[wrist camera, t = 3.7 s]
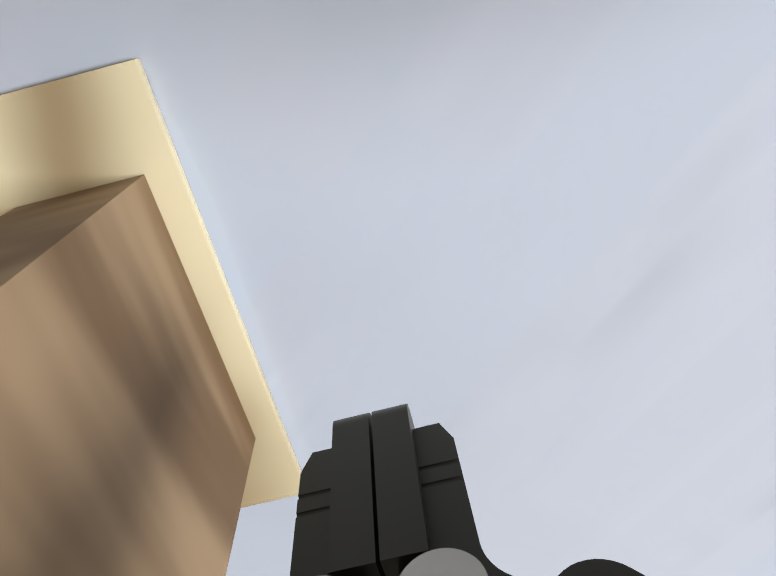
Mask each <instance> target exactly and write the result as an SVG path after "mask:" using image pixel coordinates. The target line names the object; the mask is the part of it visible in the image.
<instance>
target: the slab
mask: <svg viewBox="0 0 776 576" xmlns="http://www.w3.org/2000/svg"><path fill="white" fill-rule="evenodd" d="M255 439H256V438H255V435H254V433H253V431H252V428H251V426H250V424H249V421H248V419H247V417H246V414H245V412H244V409H243V407H242V405H241V402H240V400H239V398H238V395H237V393H236V390H235V388H234V386H233V383H232V381H231V379H230V376H229V374H228V371H227V369H226V367H225V364H224V362H223V360H222V357H221V355H220V353H219V350H218V348H217V345H216V343H215V341H214V338H213V336H212V334H211V331H210V329H209V326H208V324H207V322H206V319H205V317H204V315H203V312H202V310H201V308H200V305H199V303H198V300H197V298H196V296H195V293H194V291H193V289H192V286H191V284H190V281H189V279H188V277H187V274H186V272H185V270H184V267H183V265H182V262H181V260H180V258H179V255H178V253H177V251H176V248H175V246H174V244H173V241H172V239H171V236H170V234H169V232H168V229H167V227H166V225H165V222H164V220H163V217H162V215H161V213H160V210H159V208H158V206H157V203H156V201H155V199H154V196H153V194H152V191H151V189H150V187H149V184H148V182H147V180H146V177H145V175H144V174H143V175H140V176H136V177H132V178H128V179H124V180H120V181H116V182H112V183H109V184H105V185H101V186H97V187H93V188H89V189H85V190H81V191H77V192H74V193H70V194H66V195H62V196H58V197H54V198H50V199H46V200H43V201H39V202H35V203H31V204H27V205H23V206H19V207H15V208H14V209H12V210H10V211H9V212H7V213H5V214H3V215H2V216H0V576H225V575H226V571H227V566H228V562H229V557H230V553H231V548H232V544H233V539H234V534H235V530H236V525H237V521H238V516H239V512H240V507H241V503H242V498H243V494H244V489H245V484H246V480H247V475H248V471H249V466H250V462H251V457H252V453H253V448H254V444H255Z"/></svg>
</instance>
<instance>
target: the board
mask: <svg viewBox="0 0 776 576" xmlns="http://www.w3.org/2000/svg"><path fill="white" fill-rule="evenodd" d="M143 174H144V175H145V177H146V180H147V182H148V184H149V187H150V189H151V191H152V194H153V196H154V199H155V201H156V203H157V206H158V208H159V210H160V213H161V215H162V217H163V220H164V222H165V225H166V227H167V229H168V232H169V234H170V236H171V239H172V241H173V244H174V246H175V248H176V251H177V253H178V255H179V258H180V260H181V262H182V265H183V267H184V270H185V272H186V274H187V277H188V279H189V281H190V284H191V286H192V289H193V291H194V293H195V296H196V298H197V300H198V303H199V305H200V308H201V310H202V312H203V315H204V317H205V319H206V322H207V324H208V326H209V329H210V331H211V334H212V336H213V338H214V341H215V343H216V345H217V348H218V350H219V353H220V355H221V357H222V360H223V362H224V364H225V367H226V369H227V371H228V374H229V376H230V379H231V381H232V383H233V386H234V388H235V390H236V393H237V395H238V398H239V400H240V402H241V405H242V407H243V409H244V412H245V414H246V417H247V419H248V421H249V424H250V426H251V428H252V431H253V433H254V435H255V438H256V439H255V444H254V448H253V453H252V457H251V462H250V466H249V471H248V475H247V480H246V484H245V489H244V494H243V498H242V503H241V507H240V508H242V507H247V506H251V505H256V504H260V503H264V502H269V501H273V500H277V499H282V498H286V497H290V496H295V495H298V493H299V483H300V474H301V472H302V471H301V469H300V466H299V464H298V461H297V459H296V456H295V454H294V451H293V449H292V446H291V443H290V441H289V438H288V436H287V433H286V431H285V428H284V426H283V423H282V421H281V418H280V415H279V413H278V410H277V408H276V405H275V403H274V400H273V398H272V395H271V392H270V390H269V387H268V385H267V382H266V380H265V377H264V375H263V372H262V370H261V367H260V364H259V362H258V359H257V357H256V354H255V352H254V349H253V347H252V344H251V341H250V339H249V336H248V334H247V331H246V329H245V326H244V324H243V321H242V319H241V316H240V313H239V311H238V308H237V306H236V303H235V301H234V298H233V296H232V293H231V291H230V288H229V285H228V283H227V280H226V278H225V275H224V273H223V270H222V268H221V265H220V262H219V260H218V257H217V255H216V252H215V250H214V247H213V245H212V242H211V240H210V237H209V234H208V232H207V229H206V227H205V224H204V222H203V219H202V217H201V214H200V212H199V209H198V206H197V204H196V201H195V199H194V196H193V194H192V191H191V189H190V186H189V183H188V181H187V178H186V176H185V173H184V171H183V168H182V166H181V163H180V161H179V158H178V155H177V153H176V150H175V148H174V145H173V143H172V140H171V138H170V135H169V133H168V130H167V127H166V125H165V122H164V120H163V117H162V115H161V112H160V110H159V107H158V104H157V102H156V99H155V97H154V94H153V92H152V89H151V87H150V84H149V82H148V79H147V76H146V74H145V71H144V69H143V66H142V64H141V61H140V59H139V58H138V59H134V60H130V61H126V62H123V63H119V64H115V65H111V66H108V67H104V68H100V69H96V70H93V71H89V72H85V73H81V74H78V75H74V76H70V77H66V78H63V79H59V80H55V81H51V82H48V83H44V84H40V85H36V86H33V87H29V88H25V89H21V90H18V91H14V92H10V93H6V94H3V95H0V216H2V215H3V214H5V213H7V212H9V211H10V210H12V209H14V208H15V207H19V206H23V205H27V204H31V203H35V202H39V201H43V200H46V199H50V198H54V197H58V196H62V195H66V194H70V193H74V192H77V191H81V190H85V189H89V188H93V187H97V186H101V185H105V184H109V183H112V182H116V181H120V180H124V179H128V178H132V177H136V176H140V175H143Z"/></svg>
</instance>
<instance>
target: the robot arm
mask: <svg viewBox="0 0 776 576" xmlns="http://www.w3.org/2000/svg"><path fill="white" fill-rule="evenodd" d="M298 496H299V500H298V502H297V512H296V514H297V518H296V522H295V531H294V541H293V551H292V561H291V570H290V576H511V575H509V574H507V573H505V572H503V571H502V570H500V569H498V568H497V567H496V566H495V565H493V564H492V563H491V562H490V561H489V559H488V558H487V557H486V556H485V554H484V552H483V550H482V548H481V545H480V542H479V538H478V534H477V530H476V526H475V522H474V518H473V514H472V510H471V506H470V502H469V498H468V494H467V490H466V486H465V482H464V478H463V474H462V470H461V466H460V462H459V458H458V454H457V450H456V446H455V442H454V438H453V437H452V436H451V435H450V434H449V433H448V432H447V431H446V430H445V429H444V428H443V427H442V426H441V425H440V424H439V423H437V424H433V425H428V426H424V427H420V428H416V429H415V428H414V425H413V421H412V417H411V414H410V410H409V407H408V404H404V405H399V406H395V407H391V408H387V409H383V410H378V411H374V412H372V415H371V414H370V413H366V414H362V415H358V416H354V417H349V418H345V419H341V420H337V421H334V422H333V434H332V448H331V449H327V450H322V451H318V452H314V453H312V455H311V457H310V458H309V460H308V462H307V463H306V465H305V467H304V469H303V470H302V472H301V474H300V483H299V493H298ZM558 576H645V575H643V574H641V573H639V572H637V571H636V570H634V569H632V568H630V567H628V566H626V565H624V564H621V563H618V562H615V561H611V560H605V559H591V560H584V561H581V562H577V563H575V564H573V565H571V566H569V567H568V568H566V569H565V570H563V571H562V572H561V573H560V574H559V575H558Z"/></svg>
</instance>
